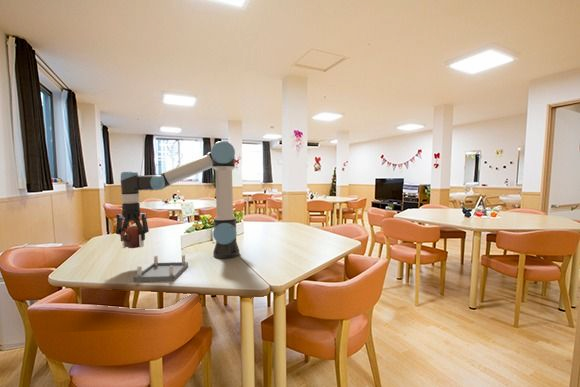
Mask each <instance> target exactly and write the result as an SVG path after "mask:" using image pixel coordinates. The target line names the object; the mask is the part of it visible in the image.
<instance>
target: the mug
mask: <svg viewBox="0 0 580 387" xmlns="http://www.w3.org/2000/svg"><path fill="white" fill-rule="evenodd" d="M142 227H143V225H142ZM124 230H125V231H123V232H122V233H121V236H120V239H121V238H122V240H123V241H122V243H123V242H126V244H127V247H126V248H128V249H137V248H138V249H139V248H140V245H139V235H140V232H139V230H138V227H137V225H131V226H127V229H125V228H124ZM125 233H126V240H125V236H124V234H125Z"/></svg>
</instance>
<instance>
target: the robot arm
mask: <svg viewBox="0 0 580 387" xmlns="http://www.w3.org/2000/svg"><path fill="white" fill-rule="evenodd" d="M211 147H212V148H211V150H210V151H209V152H207V154H205V155H203V156H202V157H199V158H197V159H195V160H192V161H188V162H187V163H185V164H182V165H180V166H177V167H175V168H172V169H171V170H170V169H169V170H168V171H166V172H162V173H159V174H151V175H150V174H149V175H139V173H138V171H122V172H121V173H120V189H121V190H120V191H121V203H122V205H121V207H122V212H121V213H119V214H116V228H115V230H116V231H115V233H116V235H119V236H120V241H121V242H122V249H125V248H128V247H127V244H126V242H123V240H122V238H121V233H122V232H123V231H125V230H124V228H125V229H127V227H129V223H130V222H134V223H135V226H137V227H138V230H139V232H140V235H139V245H140V247H139V248H141V249H142V248H143V247H144V246H145V244H144V241H145V240H146V234H147V233H149V225H148V219H147V213H146V212H143V213H142V212H141V210H140V209H141V204H140V202H139V201H140V191H159V190H161V191H162V190H164V189H166V188H167V187H169V186H172V185H173V184H176V183H179V182H181V181H183V180H186V179H188V178H190V177H192V176H193V177H194V176H196V175H198V174H201V173H202V172H205V171H207V170H209V169H214V170H215V202H216V203H215V204H216V209H215V210H216V214H215V216H214V217H213V232H212V236H213V238H214V240H215V245H214V249H213V253H212V256H213V257H214V258H217V259H231V258H236V257H238V256H239V255H240V249H239V246H238V243H237V217H236V216H235V215H234V203H233V200H234V197H233V196H234V194H233V170H234V169H235V168H236V160H235V158H236V150H235V148H234V146H233V145H232V143H230V142H229V141H224V140H221V141H217V142H215V143H214V144H213V145H212V146H211ZM140 218H141V219H140ZM123 219H124V220H123ZM142 226H143V227H142ZM124 236H125V240H126V232H125V234H124Z"/></svg>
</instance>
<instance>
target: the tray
mask: <svg viewBox="0 0 580 387" xmlns="http://www.w3.org/2000/svg"><path fill="white" fill-rule="evenodd" d="M158 259H159V258H158V255H154V256H153V262H152V263H151V264H150V265H149V266H147V267H146V268H144V269H143V270H142V268H143V267H142V265H140V266H137V267H136V268H137V272H136V273H137V274H136V275H134V276H133V282H138V283H139V282H170V281H172V282H174V281H175V280H176V279H177V278H178V277H179V276H180V275H181V274H182V273H183V272H184V271H185V270H186V269H187V268H188V266H189V261H186V255H185V254H182V255H181V261H180V262H179V261H178V262H173V261H171V262H170V261H169V262H159V260H158Z"/></svg>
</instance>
